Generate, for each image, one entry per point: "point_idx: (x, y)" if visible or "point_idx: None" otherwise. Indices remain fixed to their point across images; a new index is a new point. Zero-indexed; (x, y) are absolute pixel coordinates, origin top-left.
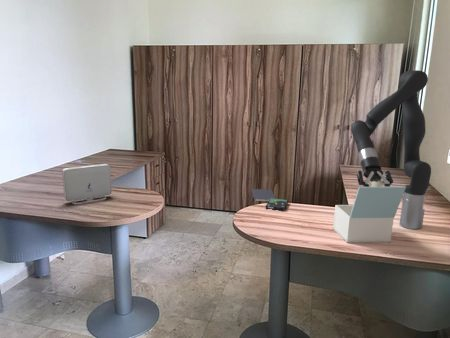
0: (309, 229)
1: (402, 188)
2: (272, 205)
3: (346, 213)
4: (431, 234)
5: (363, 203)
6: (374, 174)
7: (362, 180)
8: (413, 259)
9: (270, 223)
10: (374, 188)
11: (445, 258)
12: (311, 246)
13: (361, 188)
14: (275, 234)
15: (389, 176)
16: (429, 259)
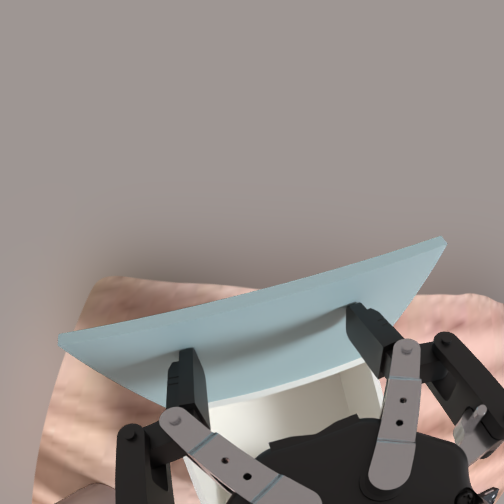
0: (427, 417)
1: (84, 335)
2: (487, 499)
3: (377, 397)
4: (66, 449)
5: None
6: (344, 482)
7: (448, 347)
8: (164, 283)
9: None
10: (337, 273)
11: (85, 303)
12: (423, 300)
13: (426, 244)
14: (489, 343)
15: (136, 489)
16: (123, 290)
